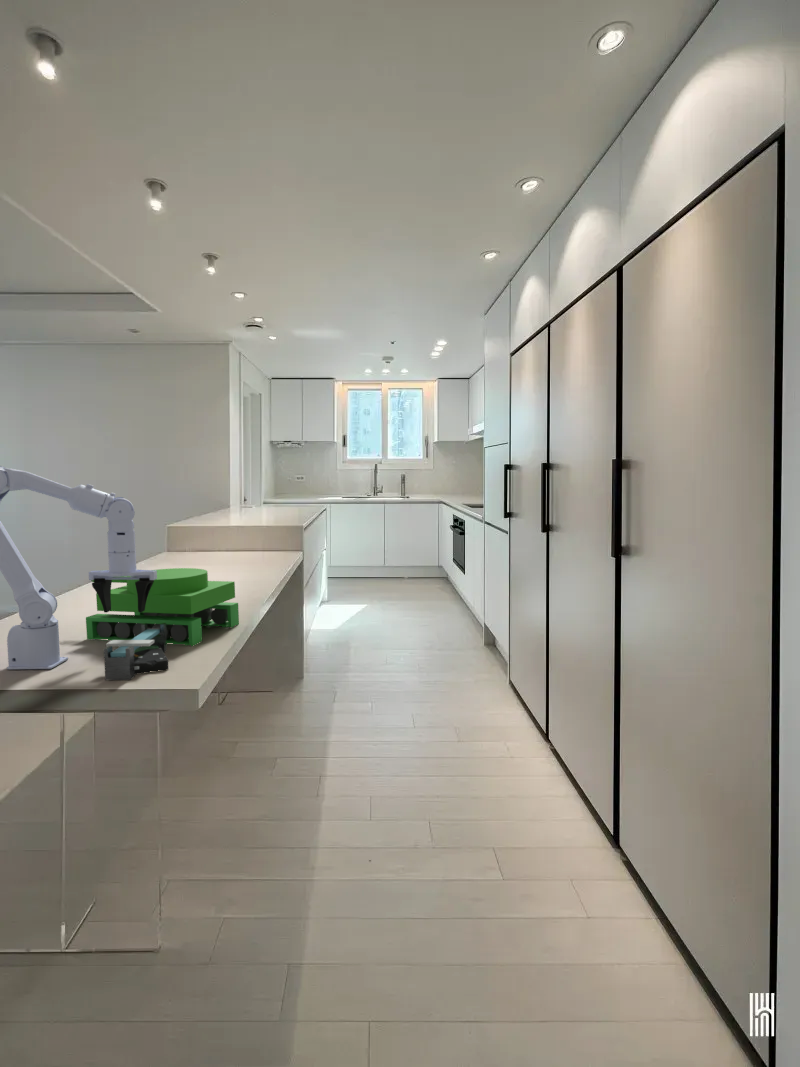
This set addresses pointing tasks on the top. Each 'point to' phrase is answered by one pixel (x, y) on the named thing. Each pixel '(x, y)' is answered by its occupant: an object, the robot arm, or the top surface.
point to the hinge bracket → (158, 636)
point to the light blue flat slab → (134, 642)
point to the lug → (119, 665)
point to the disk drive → (149, 659)
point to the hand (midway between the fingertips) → (124, 611)
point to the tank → (168, 607)
